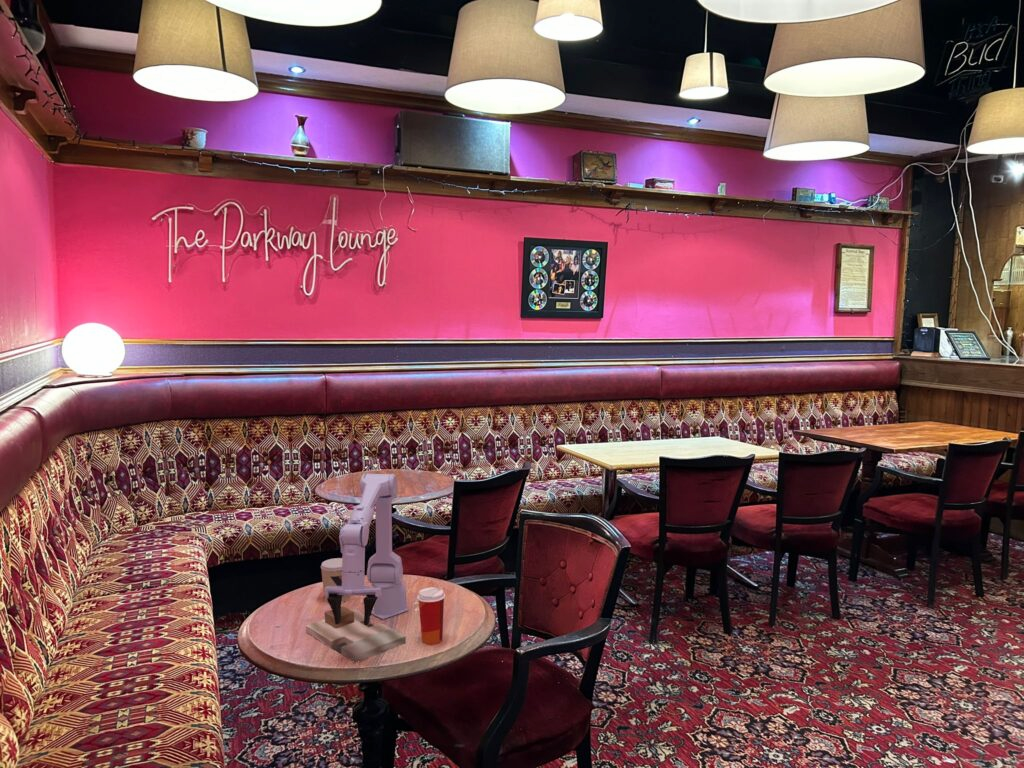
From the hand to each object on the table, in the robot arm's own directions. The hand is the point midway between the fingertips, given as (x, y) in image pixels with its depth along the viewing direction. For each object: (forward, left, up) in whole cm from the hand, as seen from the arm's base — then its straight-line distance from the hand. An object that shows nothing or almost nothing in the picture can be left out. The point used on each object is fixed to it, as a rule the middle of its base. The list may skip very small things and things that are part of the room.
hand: (352, 623), depth 188 cm
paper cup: (-22, +5, -11) cm, 25 cm away
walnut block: (-8, -20, -9) cm, 24 cm away
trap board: (-8, -12, -11) cm, 18 cm away
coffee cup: (-19, -40, -11) cm, 46 cm away
